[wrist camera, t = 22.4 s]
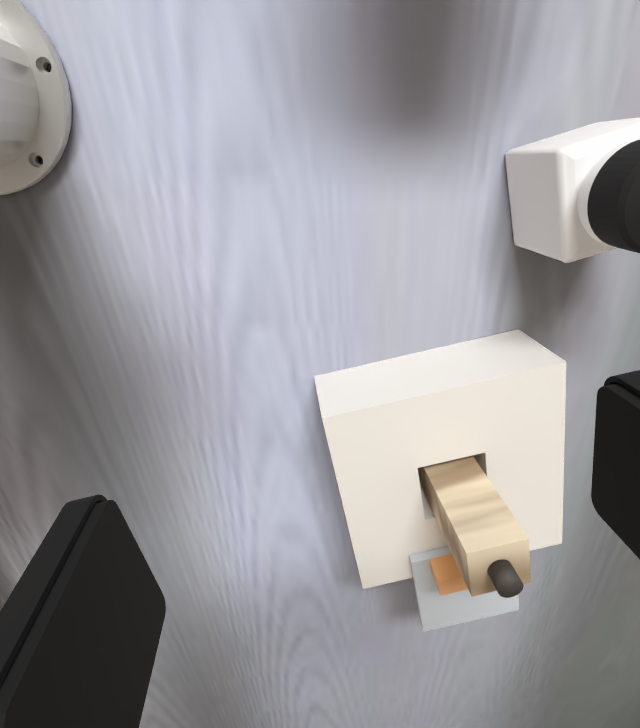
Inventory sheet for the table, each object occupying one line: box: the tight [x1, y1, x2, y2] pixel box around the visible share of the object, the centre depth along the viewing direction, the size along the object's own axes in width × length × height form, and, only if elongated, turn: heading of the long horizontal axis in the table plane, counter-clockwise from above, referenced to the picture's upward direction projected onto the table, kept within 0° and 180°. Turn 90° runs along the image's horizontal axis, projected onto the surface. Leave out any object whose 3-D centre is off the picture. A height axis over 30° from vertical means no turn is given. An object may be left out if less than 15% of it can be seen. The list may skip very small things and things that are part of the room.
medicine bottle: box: [505, 118, 640, 263], centre depth 29 cm, size 7×7×12 cm
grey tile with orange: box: [409, 546, 519, 632], centre depth 39 cm, size 9×9×3 cm
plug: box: [418, 455, 531, 598], centre depth 34 cm, size 4×4×14 cm
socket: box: [314, 329, 566, 589], centre depth 40 cm, size 18×18×7 cm
